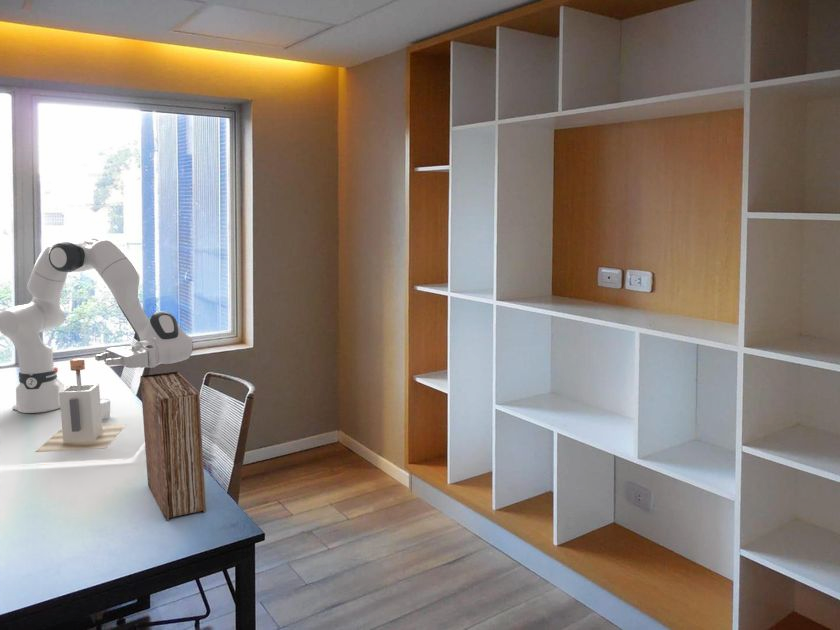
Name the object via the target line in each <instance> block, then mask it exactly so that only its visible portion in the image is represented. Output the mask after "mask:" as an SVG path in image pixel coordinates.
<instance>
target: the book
mask: <svg viewBox="0 0 840 630" xmlns="http://www.w3.org/2000/svg"><path fill="white" fill-rule="evenodd" d="M140 392H141V406H142V419H143V432H144V433H143V434H144V446H145V463H146V475H147V476H146V477H147V485H148V488H149V490H150V492H151V494H152V496H153V497H154V500H155V502H156V504H157V506H158V507H159V510H160V511H161V514H162V516H163V517H164V519H165V521H166V522H169V520H170V519H171V518H176V517H179V516H183V515H189V514H194V513H198V512H199V513H200V512H202V513H206V512H207V508H206V507H207V506H206V505H207V504H206V487H205V469H204V450H203V435H202V434H203V433H202V432H203V431H202V416H201V413H202V412H201V397H200V391H199V390H198V389H197V388H196V387H195V386H193V384H192V383H190V382H189V381H188V379H186V378H185V377H184V376H183V375H182V374H181V373H179V372H178V371H171V372H163V373H154V374H146V375H140Z"/></svg>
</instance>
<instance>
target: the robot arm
mask: <svg viewBox="0 0 840 630" xmlns="http://www.w3.org/2000/svg"><path fill="white" fill-rule="evenodd" d="M91 270H95V271H96V272H97V274H98V275H99V277H101V279H102V281H104V283H105V284H106V286H107V287H108V289H109V290H110V292H111V294H112V296H113V298H114V300H115V302H116V304H117V305H118V307H119V308H120V309H119V310H120V311H121V312H122V314H123V315H124V317H125V318H126V320H127V322H128V323H129V325H130V327H131V328H132V330H133V331H134V334H135V336H136V340H137V341H136V342H135V345H132V346H117V347H109V348H106V349H105V352H102V353H100V354H95V356H94V357H95V358H94V359H95V361H97V362H99V361H100V362H101V361H104V364H105V365H106V366H123V367H124V368H128V369H138V368H140V369H141V368H143V369H144V368H149V369H151V368H156V367H157V366H158V365H160V364H162V365H163V364H166V365H167V364H174V363H179V362H182V361H186V360H188V359H189V358H190V356H191V355H192V354H193V350H194V349H193V347H194V342H193V339H192V338H191V337H190V336H189V335H187V334H186V333H185V332H184V331H183V329H181V327H180V326H179V323H178V321H177V318H175V316H174V315H173V314H172V313H170V312H168V311H156V312H154V313H152V314H151V316H150V317H148V316H147V313H146V312H145V310H144V309H143V307H142V306H141V303H140V300H139V288H140V287H139V285H140V274H139V272H138V270H137V268H136V266H135V264H134V263H133V262H132V261H131V259H130V258H129V257H128V256H127V254H126V253H125V252H124V251H123V250H122V249H121V248H120V247H119V246H118V245H117V244H116V243H115V242H113V241H112V240H110V239H105V238H104V239H96V238H78V239H72V240H63V241H59V242H57V243H50V244H48V245H47V244H46V246H45V247H44V248H43V250H42V251H41V253H40V254H39V256H38V258H37V260H36V262H35V264H34V265H33V269H32V271H31V273H30V276H29V278H28V282H27V285H26V288H27V292H29V294H30V295H31V296H32V299H31V301H30V302H29V303H25V304H21V305H14V306H11V307H9V308H8V307H7V308H6V309H4V310H2V311H0V333H1V334H2V335H3V336H5V337H7V338H8V339H9V340H10V341H11V342H12V344H13V345H14V347H15V350H16V353H17V354H16V355H17V358H18V368H19V371H18V381H19V384H18V386H16V388H15V400H16V402H15V404H16V405H13V406H12V410H13V409H15V410H14V411H17V412H19V413H23V414H34V413H35V414H36V413H46V412H51V411H54V410H58V409H60V398H59V392H60V391H62V390H63V389H65V388H66V386H65V384H64V383H63V382H62V381H60V380H59V379H58V375H57V374H58V371H59V369H58V367H57V366H56V367H55V365H54V364H55V363H54V355H53V349H52V348H51V346H50V345H48V344H46V343H44V342H43V340H42V338H41V336H40V333H44V332H49V331H52V330H54V329H56V328H58V327H60V326H62V325H63V324H64V323H65V321H66V311H65V309H64V307H63V305H62V304H61V296H62V292H63V290H64V287H65V284H66V282H67V279H68V277H69V274H70V273H72V272H74V273H75V272H76V273H77V272H85V271H91Z"/></svg>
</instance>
